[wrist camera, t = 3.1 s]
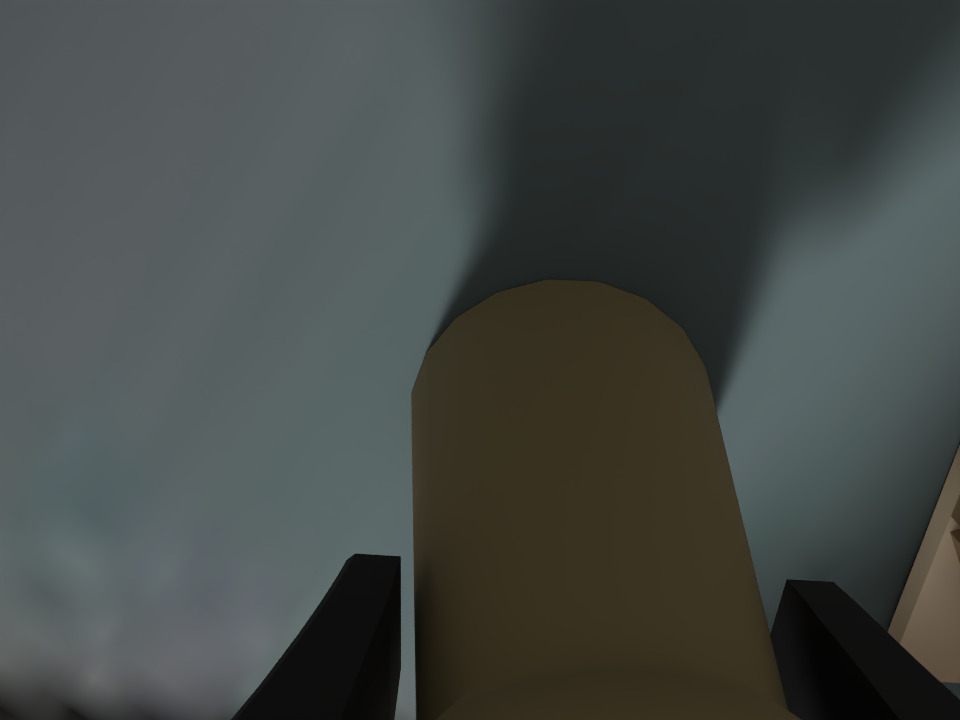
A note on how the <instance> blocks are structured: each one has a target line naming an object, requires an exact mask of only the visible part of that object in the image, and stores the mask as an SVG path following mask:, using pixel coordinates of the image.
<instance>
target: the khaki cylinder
mask: <svg viewBox="0 0 960 720" xmlns="http://www.w3.org/2000/svg"><path fill="white" fill-rule="evenodd" d="M412 484H413V550H414V615H415V680H416V720H801V719H800V718H798V717H797V716H795V715H794V714H792V713H791V712H789V711H788V708H787V704H786V700H785V696H784V692H783V688H782V683H781V679H780V675H779V671H778V667H777V663H776V658H775V654H774V650H773V646H772V642H771V638H770V633H769V629H768V625H767V621H766V617H765V612H764V608H763V604H762V600H761V596H760V592H759V587H758V583H757V579H756V575H755V571H754V567H753V562H752V558H751V554H750V550H749V546H748V542H747V537H746V533H745V529H744V525H743V521H742V517H741V512H740V508H739V504H738V500H737V496H736V492H735V487H734V483H733V479H732V475H731V471H730V467H729V462H728V458H727V454H726V450H725V446H724V441H723V437H722V433H721V429H720V425H719V421H718V416H717V412H716V408H715V404H714V400H713V396H712V391H711V387H710V383H709V379H708V375H707V371H706V366H705V365H704V363H703V361H702V360H701V358H700V356H699V355H698V353H697V351H696V350H695V348H694V346H693V345H692V343H691V341H690V340H689V338H688V336H687V335H686V333H685V331H684V330H683V328H682V327H680V326H679V325H678V324H677V323H675V322H674V321H673V320H672V319H670V318H669V317H668V316H667V315H665V314H664V313H663V312H662V311H660V310H659V309H658V308H657V307H656V306H654V305H653V304H652V303H651V302H649V301H648V300H647V299H645V298H642V297H640V296H637V295H634V294H632V293H629V292H626V291H623V290H621V289H618V288H615V287H612V286H610V285H607V284H604V283H601V282H598V281H576V280H554V279H546V280H542V281H538V282H534V283H530V284H527V285H523V286H519V287H515V288H511V289H507V290H503V291H499V292H497V293H495V294H493V295H492V296H490V297H489V298H487V299H485V300H484V301H482V302H480V303H479V304H477V305H476V306H474V307H472V308H471V309H469V310H468V311H466V312H464V313H463V314H461V315H459V316H458V317H456V318H455V319H454V321H453V322H452V323H451V324H450V325H449V326H448V328H447V329H446V330H445V331H444V332H443V334H442V335H441V336H440V337H439V338H438V340H437V341H436V342H435V343H434V344H433V346H432V347H431V348H430V349H429V350H428V352H427V353H426V355H425V358H424V361H423V363H422V366H421V369H420V371H419V374H418V377H417V380H416V382H415V385H414V388H413V390H412Z"/></svg>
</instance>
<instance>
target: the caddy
mask: <svg viewBox="0 0 960 720" xmlns="http://www.w3.org/2000/svg"><path fill="white" fill-rule="evenodd" d="M888 633H889V634H890V635H891V636H892V637H893V638H894V639H895V640H896V641H897V642H898V643H899V644H900V645H901V646H903V647H904V648H905V649H906V650H907V651H908V652H909V653H910V654H911V655H912V656H913V657H914V658H915V659H916V660H917V661H918V662H919V663H921V664H922V665H923V666H924V667H925V668H926V669H927V670H928V671H929V672H930V673H931V674H932V675H933V676H934V677H935V678H937V679H938V680H939V681H940V682H950V683H960V445H959V448H958V450H957V453H956V456H955V458H954V461H953V463H952V466H951V469H950V471H949V474H948V476H947V479H946V482H945V484H944V487H943V489H942V492H941V495H940V497H939V500H938V502H937V505H936V507H935V510H934V513H933V515H932V518H931V520H930V523H929V526H928V528H927V531H926V533H925V536H924V539H923V541H922V544H921V546H920V549H919V551H918V554H917V557H916V559H915V562H914V564H913V567H912V570H911V572H910V575H909V577H908V580H907V583H906V585H905V588H904V590H903V593H902V596H901V598H900V601H899V603H898V606H897V608H896V611H895V614H894V616H893V619H892V621H891V624H890V627H889V629H888Z"/></svg>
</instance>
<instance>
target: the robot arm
mask: <svg viewBox="0 0 960 720" xmlns="http://www.w3.org/2000/svg"><path fill="white" fill-rule="evenodd" d="M770 638H771V642H772V646H773V650H774V654H775V658H776V663H777V667H778V671H779V675H780V679H781V683H782V688H783V692H784V696H785V700H786V704H787V708H788V711H789V712H791V713H792V714H794V715H795V716H797V717H798V718H800V719H801V720H960V700H959V699H958V698H957V697H956V696H955V695H954V694H953V693H952V692H950V691H949V690H948V689H947V688H946V687H945V686H944V685H943V684H942V683H941V682H940V681H939V680H938V679H937V678H935V677H934V676H933V675H932V674H931V673H930V672H929V671H928V670H927V669H926V668H925V667H924V666H923V665H922V664H921V663H919V662H918V661H917V660H916V659H915V658H914V657H913V656H912V655H911V654H910V653H909V652H908V651H907V650H906V649H905V648H904V647H903V646H901V645H900V644H899V643H898V642H897V641H896V640H895V639H894V638H893V637H892V636H891V635H890V634H889V633H888V632H887V631H886V630H885V629H884V628H883V627H881V626H880V625H879V624H878V623H877V622H876V621H875V620H874V619H873V618H872V617H871V616H870V615H869V614H868V613H867V612H866V611H865V610H863V609H862V608H861V607H860V606H859V605H858V604H857V603H856V602H855V601H854V600H853V599H852V598H851V597H849V596H848V595H847V594H846V593H845V592H844V591H843V590H842V589H841V588H839V587H838V586H837V585H836V584H835V583H834V582H822V581H805V580H789V579H787V580H786V584H785V587H784V591H783V594H782V597H781V601H780V604H779V608H778V611H777V614H776V618H775V621H774V625H773V628H772V632H771V635H770ZM400 671H401V556H385V555H368V554H354V555H353V556H352V557H350V558H349V559H348V560H347V561H346V562H345V564H344V566H343V568H342V569H341V571H340V573H339V574H338V576H337V578H336V579H335V581H334V582H333V584H332V586H331V587H330V589H329V590H328V592H327V593H326V595H325V596H324V598H323V599H322V601H321V602H320V604H319V605H318V607H317V608H316V610H315V611H314V613H313V614H312V615H311V617H310V618H309V620H308V621H307V623H306V624H305V626H304V627H303V628H302V630H301V631H300V633H299V634H298V635H297V637H296V638H295V639H294V641H293V642H292V643H291V645H290V646H289V647H288V649H287V650H286V651H285V653H284V654H283V655H282V657H281V658H280V659H279V661H278V662H277V663H276V665H275V666H274V667H273V669H272V670H271V671H270V673H269V674H268V675H267V677H266V678H265V679H264V680H263V682H262V683H261V684H260V685H259V687H258V688H257V689H256V690H255V692H254V693H253V694H252V695H251V696H250V698H249V699H248V700H247V701H246V702H245V704H244V705H243V706H242V707H241V708H240V710H239V711H238V712H237V713H236V714H235V715H234V717H233V718H232V719H231V720H394V717H395V710H396V702H397V694H398V686H399V679H400Z"/></svg>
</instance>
